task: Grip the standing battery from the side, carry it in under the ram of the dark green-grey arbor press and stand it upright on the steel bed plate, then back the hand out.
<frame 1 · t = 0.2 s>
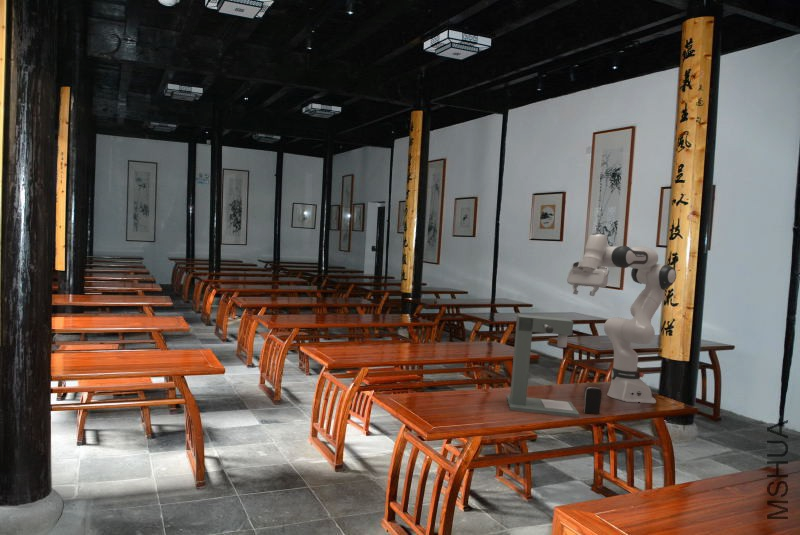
hand: (583, 294, 269), 51 cm above the table, tool tilted 15°, fingers open, 8 cm apart
press: (556, 409, 261), on the table
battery: (590, 413, 259), on the table
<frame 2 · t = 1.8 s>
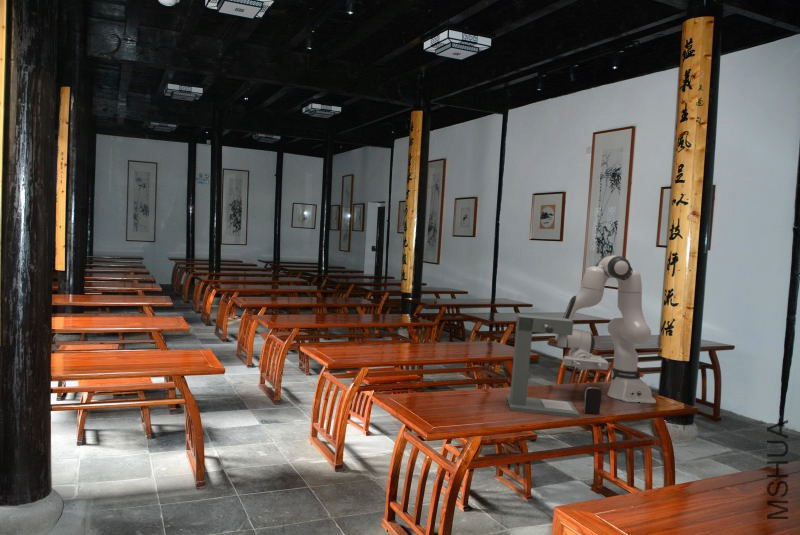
hand: (588, 366, 270), 18 cm above the table, tool horizontal, fingers open, 8 cm apart
nothing on the table moved.
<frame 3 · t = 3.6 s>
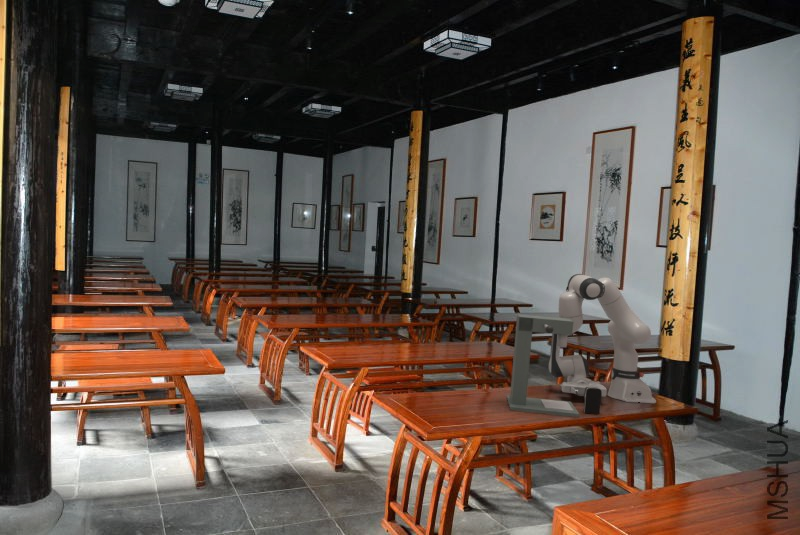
hand: (586, 393, 269), 6 cm above the table, tool horizontal, fingers open, 8 cm apart
nothing on the table moved.
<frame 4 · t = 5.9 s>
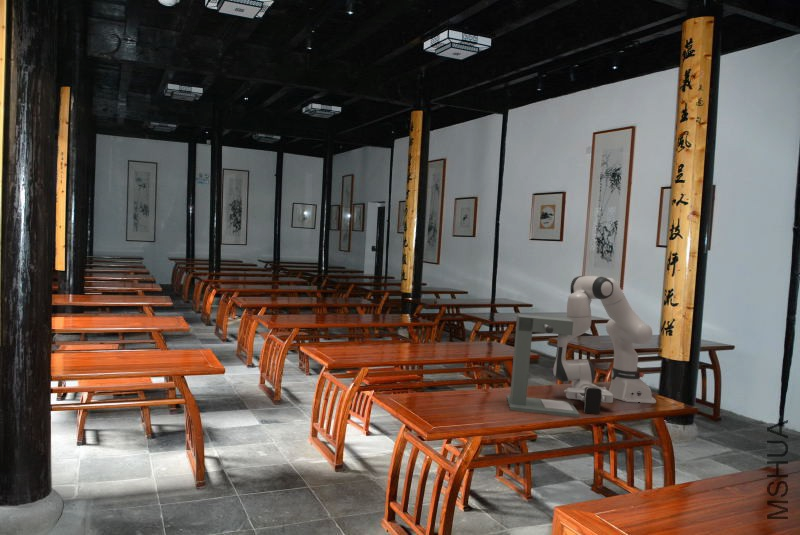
hand: (592, 399, 258), 6 cm above the table, tool horizontal, fingers closed on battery, 7 cm apart
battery: (590, 413, 259), on the table, touching gripper
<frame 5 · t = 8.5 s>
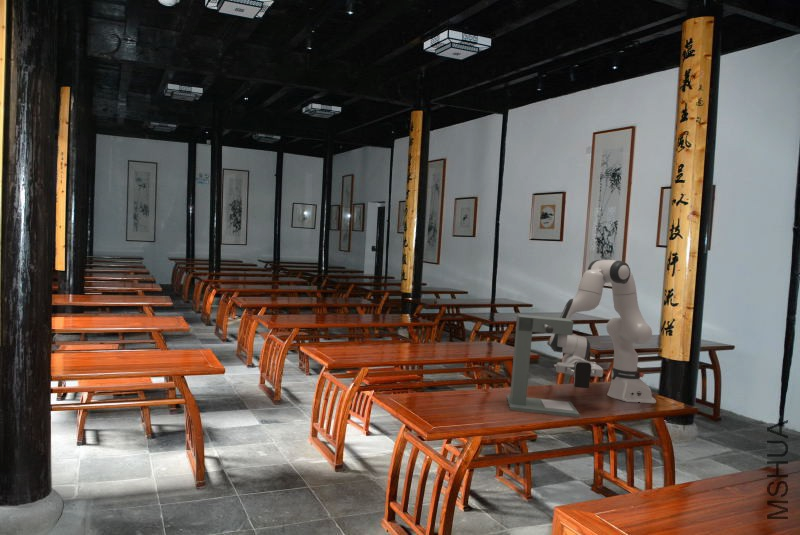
hand: (582, 373, 258), 17 cm above the table, tool horizontal, fingers closed on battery, 7 cm apart
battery: (580, 387, 259), point 11 cm above the table, touching gripper
when the fingers open (9 cm above the table, at t = 11.2 s): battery stays where it is, resting on press.
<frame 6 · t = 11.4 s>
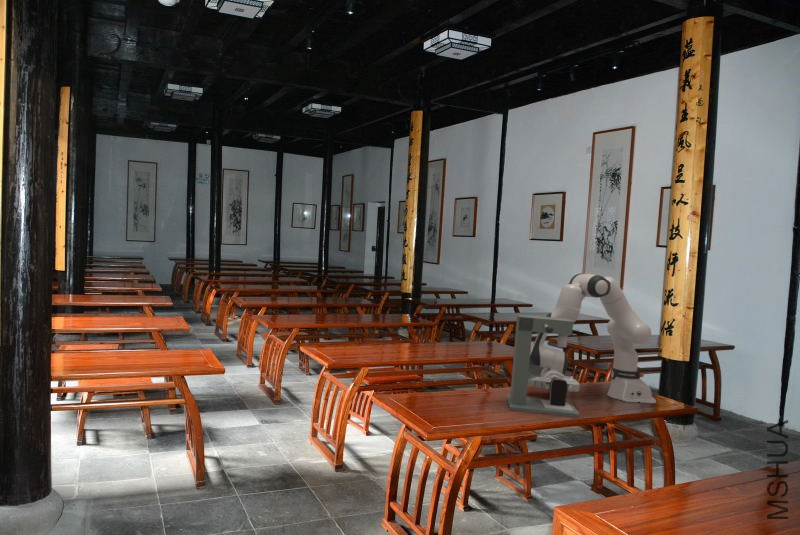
hand: (558, 388, 259), 9 cm above the table, tool horizontal, fingers open, 8 cm apart
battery: (556, 405, 260), point 2 cm above the table, touching press
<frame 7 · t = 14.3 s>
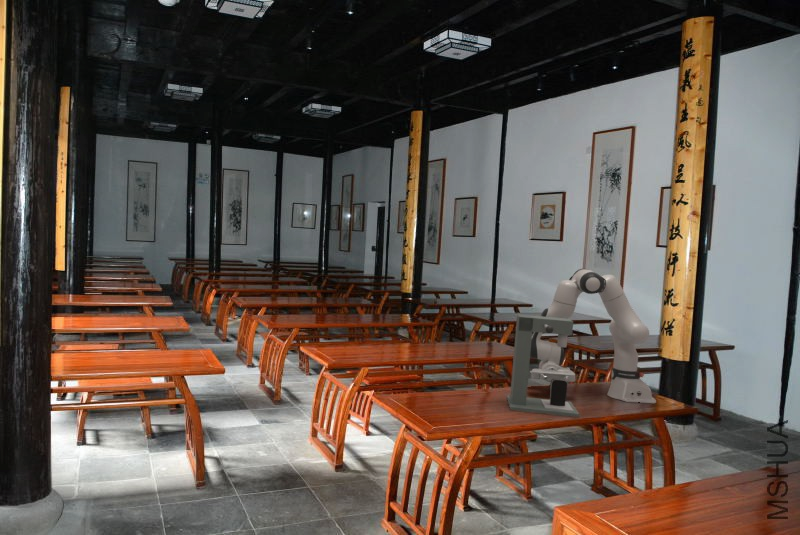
hand: (555, 379, 273), 11 cm above the table, tool horizontal, fingers open, 8 cm apart
nothing on the table moved.
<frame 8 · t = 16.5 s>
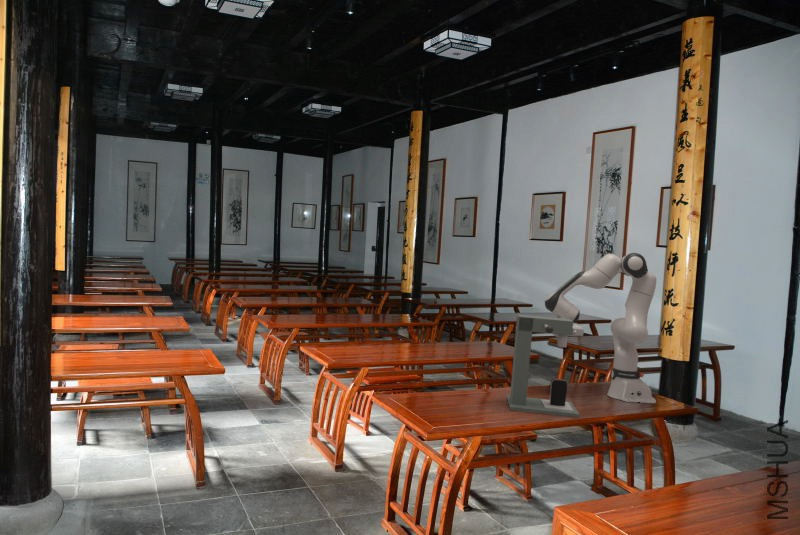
hand: (564, 332, 278), 32 cm above the table, tool horizontal, fingers open, 8 cm apart
nothing on the table moved.
at the end: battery 0.0 cm off-centre on the press, point 1.8 cm above the press's base; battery tilted 0°; the gripper is holding nothing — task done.
